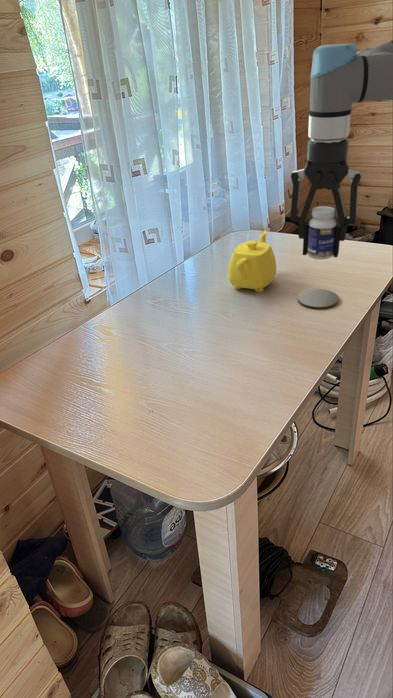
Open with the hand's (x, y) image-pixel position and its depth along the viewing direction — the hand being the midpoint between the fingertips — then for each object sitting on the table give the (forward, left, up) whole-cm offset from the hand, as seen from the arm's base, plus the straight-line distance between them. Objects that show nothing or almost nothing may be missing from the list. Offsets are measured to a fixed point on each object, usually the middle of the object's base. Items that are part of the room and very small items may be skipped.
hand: (320, 253), depth 110 cm
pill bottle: (0, 0, -1) cm, 1 cm away
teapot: (+16, -6, -11) cm, 21 cm away
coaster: (0, 0, -11) cm, 11 cm away
